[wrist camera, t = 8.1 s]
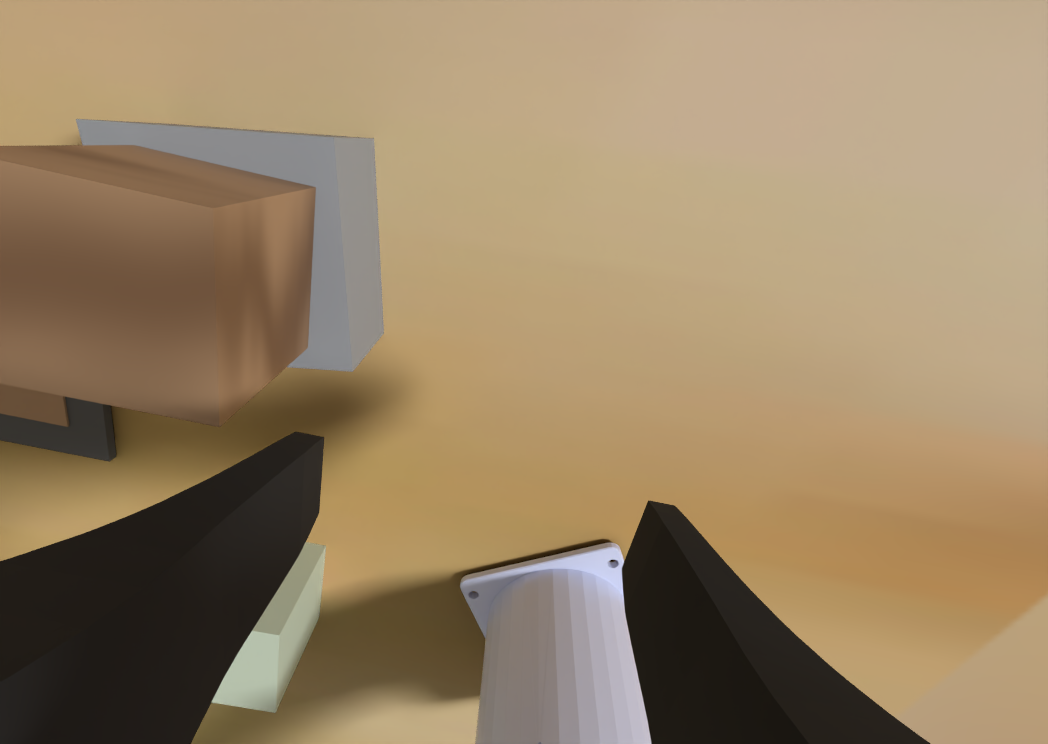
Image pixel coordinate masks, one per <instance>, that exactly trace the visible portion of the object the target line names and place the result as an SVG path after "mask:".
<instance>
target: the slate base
mask: <svg viewBox="0 0 1048 744" xmlns="http://www.w3.org/2000/svg"><path fill="white" fill-rule="evenodd" d="M76 122H77V125H78V129H79V133H80V137H81V140H82V144H83V145H136V146H141V147H145V148H149V149H153V150H158V151H162V152H166V153H171V154H175V155H179V156H184V157H188V158H192V159H197V160H201V161H205V162H209V163H214V164H218V165H222V166H227V167H231V168H235V169H240V170H244V171H248V172H253V173H257V174H261V175H265V176H270V177H274V178H278V179H283V180H287V181H291V182H296V183H300V184H304V185H309V186H313V187H316V196H315V216H314V236H313V257H312V277H311V297H310V317H309V337H308V348H307V349H306V350H305V351H304V352H303V353H302V354H301V355H299V356H298V357H297V358H296V359H295V360H294V361H293V362H292V363H291V364H289V365H288V366H287V367H292V368H307V369H322V370H336V371H351V372H353V371H354V369H355V368H356V367H357V366H358V364H359V363H360V362H361V361H362V360H363V358H364V357H365V356H366V355H367V353H368V352H369V351H370V350H371V348H372V347H373V346H374V345H375V343H376V342H377V341H378V340H379V338H380V337H381V336H382V335H383V333H384V326H383V306H382V286H381V267H380V247H379V228H378V208H377V188H376V169H375V149H374V138H360V137H346V136H331V135H317V134H303V133H289V132H275V131H261V130H247V129H233V128H219V127H205V126H191V125H177V124H161V123H142V122H123V121H104V120H85V119H76Z"/></svg>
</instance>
